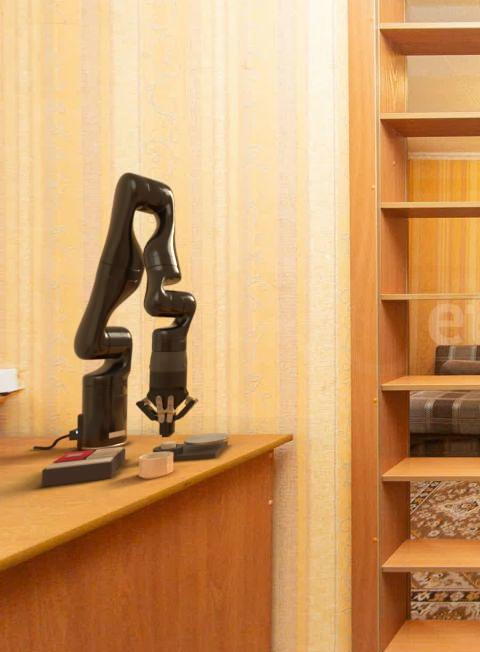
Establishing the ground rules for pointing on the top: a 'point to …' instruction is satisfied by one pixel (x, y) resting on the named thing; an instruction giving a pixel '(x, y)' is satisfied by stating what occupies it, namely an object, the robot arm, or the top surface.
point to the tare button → (168, 444)
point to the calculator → (83, 466)
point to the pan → (206, 439)
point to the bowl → (155, 464)
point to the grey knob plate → (194, 451)
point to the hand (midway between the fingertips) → (166, 436)
